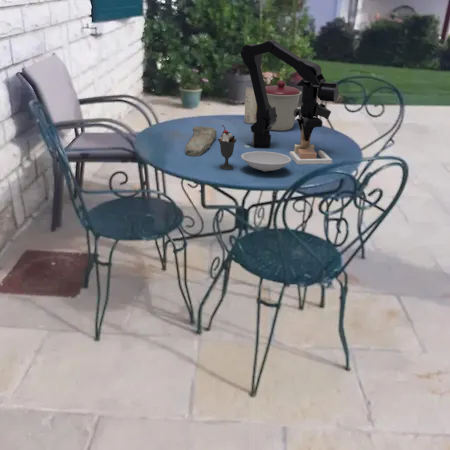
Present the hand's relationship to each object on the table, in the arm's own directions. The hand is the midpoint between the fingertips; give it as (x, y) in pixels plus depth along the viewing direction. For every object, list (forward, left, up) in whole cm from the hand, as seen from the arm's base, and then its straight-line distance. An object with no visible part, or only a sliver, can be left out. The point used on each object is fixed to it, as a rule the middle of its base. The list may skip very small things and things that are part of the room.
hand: (305, 139), depth 213 cm
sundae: (-33, -15, -6) cm, 37 cm away
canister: (-1, +38, -6) cm, 38 cm away
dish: (-20, -20, -6) cm, 29 cm away
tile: (0, -4, -6) cm, 7 cm away
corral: (0, -7, -5) cm, 9 cm away
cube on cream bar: (0, +1, -5) cm, 5 cm away
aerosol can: (-11, +49, -6) cm, 51 cm away
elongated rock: (-38, +15, -6) cm, 42 cm away
